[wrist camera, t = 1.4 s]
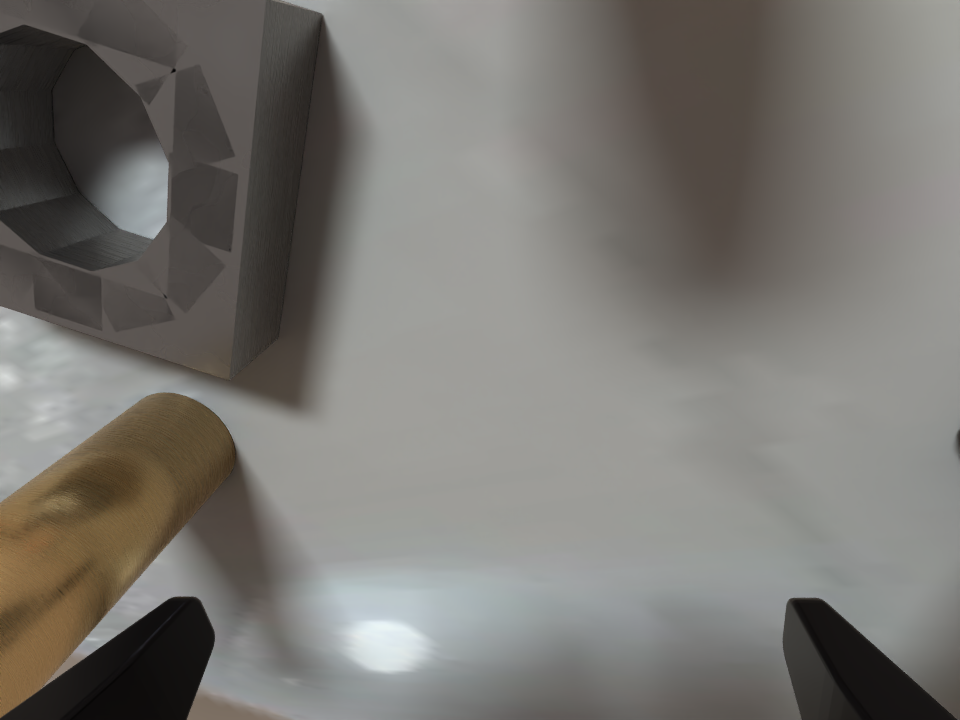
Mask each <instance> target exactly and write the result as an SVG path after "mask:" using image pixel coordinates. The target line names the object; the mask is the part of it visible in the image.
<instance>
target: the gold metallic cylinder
mask: <svg viewBox="0 0 960 720" xmlns="http://www.w3.org/2000/svg"><path fill="white" fill-rule="evenodd" d="M234 463H235V447H234V443H233V440H232V438H231V435H230V433H229V431H228V430H227V428H226V427H225V425H224V424H223V422H222V421H221V420H220V419H219V418H218V417H217V416H216V415H215V414H214V413H213V412H212V411H211V410H210V409H208V408H207V407H206V406H204V405H203V404H201V403H199V402H197V401H196V400H194V399H191V398H189V397H186V396H183V395H180V394H175V393H156V394H152V395H149V396H146V397H145V398H143V399H141V400H140V401H139V402H137V403H136V404H135V405H133V406H132V407H130V408H129V409H128V410H126V411H125V412H124V413H122V414H121V415H119V416H118V417H117V418H115V419H114V420H113V421H111V422H110V423H109V424H107V425H106V426H104V427H103V428H102V429H100V430H99V431H98V432H96V433H95V434H94V435H92V436H91V437H89V438H88V439H87V440H85V441H84V442H83V443H81V444H80V445H78V446H77V447H76V448H74V449H73V450H72V451H70V452H69V453H68V454H66V455H65V456H63V457H62V458H61V459H59V460H58V461H57V462H55V463H54V464H53V465H51V466H50V467H48V468H47V469H46V470H44V471H43V472H42V473H40V474H39V475H37V476H36V477H35V478H33V479H32V480H31V481H29V482H28V483H27V484H25V485H24V486H22V487H21V488H20V489H18V490H17V491H16V492H14V493H13V494H12V495H10V496H9V497H7V498H6V499H5V500H3V501H2V502H1V503H0V718H1V717H2V716H3V715H5V714H6V713H8V712H9V711H11V710H12V709H13V708H15V707H16V706H18V705H19V704H21V703H22V702H23V701H25V700H26V699H28V698H29V697H30V696H32V695H33V694H35V693H36V692H38V691H39V690H40V689H41V688H42V687H43V686H44V684H45V683H46V682H47V681H48V680H49V679H50V678H51V677H52V675H53V674H54V673H55V672H56V671H57V670H58V669H59V667H60V666H61V665H62V664H63V663H64V662H65V661H66V660H67V658H68V657H69V656H70V655H71V654H72V653H73V652H74V650H75V649H76V648H77V647H78V646H79V645H80V644H81V643H82V641H83V640H84V639H85V638H86V637H87V636H88V635H89V633H90V632H91V631H92V630H93V629H94V628H95V627H96V625H97V624H98V623H99V622H100V621H101V620H102V619H103V618H104V616H105V615H106V614H107V613H108V612H109V611H110V610H111V608H112V607H113V606H114V605H115V604H116V603H117V602H118V601H119V599H120V598H121V597H122V596H123V595H124V594H125V593H126V591H127V590H128V589H129V588H130V587H131V586H132V585H133V583H134V582H135V581H136V580H137V579H138V578H139V577H140V576H141V574H142V573H143V572H144V571H145V570H146V569H147V568H148V566H149V565H150V564H151V563H152V562H153V561H154V560H155V559H156V557H157V556H158V555H159V554H160V553H161V552H162V551H163V549H164V548H165V547H166V546H167V545H168V544H169V543H170V542H171V540H172V539H173V538H174V537H175V536H176V535H177V534H178V532H179V531H180V530H181V529H182V528H183V527H184V526H185V524H186V523H187V522H188V521H189V520H190V519H191V518H192V517H193V515H194V514H195V513H196V512H197V511H198V510H199V509H200V507H201V506H202V505H203V504H204V503H205V502H206V501H207V500H208V498H209V497H210V496H211V495H212V494H213V493H214V492H215V490H216V489H217V488H218V487H219V486H220V485H221V484H222V482H223V481H224V480H225V479H226V478H227V477H228V476H229V474H230V473H231V471H232V469H233V467H234Z"/></svg>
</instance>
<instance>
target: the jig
mask: <svg viewBox="0 0 960 720" xmlns="http://www.w3.org/2000/svg"><path fill="white" fill-rule="evenodd" d="M321 19H322V14H321V13H318V12H315V11H312V10H309V9H306V8H303V7H300V6H297V5H293V4H290V3H287V2H284V1H281V0H0V306H2V307H5V308H8V309H11V310H15V311H18V312H21V313H24V314H27V315H30V316H33V317H36V318H39V319H42V320H45V321H48V322H51V323H54V324H57V325H60V326H64V327H67V328H70V329H73V330H76V331H79V332H82V333H85V334H88V335H91V336H94V337H97V338H100V339H103V340H106V341H109V342H112V343H116V344H119V345H122V346H125V347H128V348H131V349H134V350H137V351H140V352H143V353H146V354H149V355H152V356H155V357H158V358H161V359H165V360H168V361H171V362H174V363H177V364H180V365H183V366H186V367H189V368H192V369H195V370H198V371H201V372H204V373H207V374H210V375H214V376H217V377H220V378H223V379H226V380H230V379H231V378H233V377H234V376H235V375H236V374H237V373H238V372H240V371H241V370H242V369H243V368H244V367H245V366H247V365H248V364H249V363H250V362H251V361H252V360H253V359H255V358H256V357H257V356H258V355H259V354H260V353H262V352H263V351H264V350H265V349H266V348H267V347H269V346H270V345H271V344H272V343H273V342H274V341H275V340H277V339H278V334H279V327H280V320H281V312H282V305H283V298H284V290H285V283H286V276H287V268H288V261H289V254H290V246H291V239H292V232H293V224H294V217H295V210H296V202H297V195H298V188H299V180H300V173H301V166H302V158H303V151H304V144H305V136H306V129H307V122H308V114H309V107H310V100H311V92H312V85H313V78H314V70H315V63H316V56H317V48H318V41H319V34H320V26H321ZM85 45H87V46H89V47H90V48H91V49H92V50H93V51H94V52H95V53H96V54H97V55H98V56H99V57H100V58H101V59H102V60H103V61H104V62H105V63H106V64H107V65H108V66H109V67H110V68H111V69H112V70H113V71H114V72H115V73H116V74H117V75H118V76H119V77H120V78H121V79H122V80H123V81H124V82H126V83H127V84H128V85H129V86H130V87H131V88H132V89H133V90H134V91H135V92H136V93H137V94H138V95H139V96H140V97H141V100H142V102H143V104H144V107H145V109H146V111H147V114H148V116H149V118H150V121H151V123H152V125H153V127H154V130H155V132H156V134H157V137H158V139H159V141H160V144H161V146H162V148H163V150H164V153H165V155H166V157H167V160H168V162H169V173H168V202H167V222H166V224H165V225H164V227H163V228H162V229H161V231H160V232H159V233H158V235H157V236H156V237H155V239H154V240H152V239H148V238H145V237H142V236H139V235H136V234H133V233H130V232H127V231H124V230H121V229H118V228H117V227H116V226H115V225H114V224H113V223H112V222H111V221H109V220H108V219H107V218H106V217H105V216H104V215H103V214H102V213H101V212H100V211H98V210H97V209H96V208H95V207H94V206H93V205H92V204H91V203H90V202H88V201H87V200H86V199H85V198H84V197H83V196H82V195H81V194H80V193H79V192H78V190H77V188H76V186H75V184H74V182H73V180H72V178H71V176H70V174H69V172H68V170H67V168H66V166H65V164H64V162H63V160H62V158H61V156H60V154H59V152H58V150H57V148H56V146H55V144H54V134H53V115H52V96H51V90H52V88H53V86H54V84H55V83H56V81H57V79H58V77H59V75H60V74H61V72H62V70H63V68H64V66H65V65H66V63H67V61H68V59H69V58H70V56H71V54H72V52H73V50H74V49H76V48H79V47H82V46H85Z"/></svg>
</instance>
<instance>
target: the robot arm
mask: <svg viewBox="0 0 960 720" xmlns="http://www.w3.org/2000/svg"><path fill="white" fill-rule="evenodd" d="M214 642H215V632H214V629H213V627H212V625H211V622H210V620H209V618H208V616H207V614H206V611H205V609H204V607H203V605H202V603H201V601H200V600H199V599H198V598H196V597H173V598H170V599H168V600H167V601H165V602H164V603H162V604H161V605H160V606H158V607H157V608H155V609H154V610H153V611H151V612H150V613H148V614H147V615H145V616H144V617H143V618H141V619H140V620H138V621H137V622H135V623H134V624H133V625H131V626H130V627H128V628H127V629H126V630H124V631H123V632H121V633H120V634H118V635H117V636H116V637H114V638H113V639H111V640H110V641H109V642H107V643H106V644H104V645H103V646H101V647H100V648H99V649H97V650H96V651H94V652H93V653H91V654H90V655H89V656H87V657H86V658H85V659H83V660H82V661H80V662H79V663H77V664H76V665H74V666H73V667H72V668H70V669H69V670H68V671H66V672H65V673H63V674H62V675H60V676H59V677H57V678H56V679H55V680H53V681H52V682H50V683H49V684H47V685H46V686H45V687H43V688H42V689H40V690H39V691H38V692H36V693H35V694H33V695H32V696H30V697H29V698H28V699H26V700H25V701H23V702H22V703H21V704H19V705H18V706H16V707H15V708H13V709H12V710H11V711H9V712H8V713H6V714H5V715H3V716H2V717H1V718H0V720H187V717H188V714H189V712H190V709H191V706H192V704H193V701H194V698H195V696H196V693H197V690H198V688H199V685H200V682H201V680H202V677H203V674H204V672H205V669H206V666H207V663H208V661H209V658H210V655H211V653H212V650H213V647H214ZM783 650H784V656H785V660H786V663H787V667H788V671H789V674H790V678H791V682H792V685H793V689H794V693H795V696H796V700H797V704H798V707H799V711H800V715H801V718H802V720H957V719H956V718H955V717H954V716H953V715H951V714H950V713H949V712H948V711H947V710H946V709H945V708H944V707H942V706H941V705H940V704H939V703H938V702H937V701H936V700H935V699H934V698H932V697H931V696H930V695H929V694H928V693H927V692H926V691H925V690H923V689H922V688H921V687H920V686H919V685H918V684H917V683H916V682H915V681H913V680H912V679H911V678H910V677H909V676H908V675H907V674H906V673H905V672H903V671H902V670H901V669H900V668H899V667H898V666H897V665H896V664H894V663H893V662H892V661H891V660H890V659H889V658H888V657H887V656H886V655H884V654H883V653H882V652H881V651H880V650H879V649H878V648H877V647H875V646H874V645H873V644H872V643H871V642H870V641H869V640H868V639H867V638H865V637H864V636H863V635H862V634H861V633H860V632H859V631H858V630H857V629H855V628H854V627H853V626H852V625H851V624H850V623H849V622H848V621H846V620H845V619H844V618H843V617H842V616H841V615H840V614H839V613H838V612H836V611H835V610H834V609H833V608H832V607H831V606H830V605H829V604H827V603H826V602H825V601H823V600H822V599H819V598H791V599H789V600H788V602H787V605H786V613H785V622H784V632H783Z"/></svg>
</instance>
